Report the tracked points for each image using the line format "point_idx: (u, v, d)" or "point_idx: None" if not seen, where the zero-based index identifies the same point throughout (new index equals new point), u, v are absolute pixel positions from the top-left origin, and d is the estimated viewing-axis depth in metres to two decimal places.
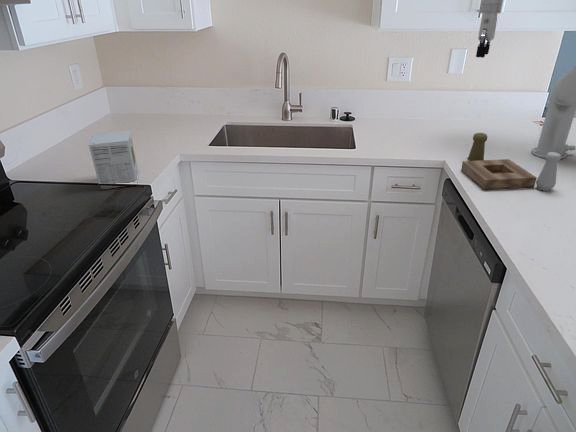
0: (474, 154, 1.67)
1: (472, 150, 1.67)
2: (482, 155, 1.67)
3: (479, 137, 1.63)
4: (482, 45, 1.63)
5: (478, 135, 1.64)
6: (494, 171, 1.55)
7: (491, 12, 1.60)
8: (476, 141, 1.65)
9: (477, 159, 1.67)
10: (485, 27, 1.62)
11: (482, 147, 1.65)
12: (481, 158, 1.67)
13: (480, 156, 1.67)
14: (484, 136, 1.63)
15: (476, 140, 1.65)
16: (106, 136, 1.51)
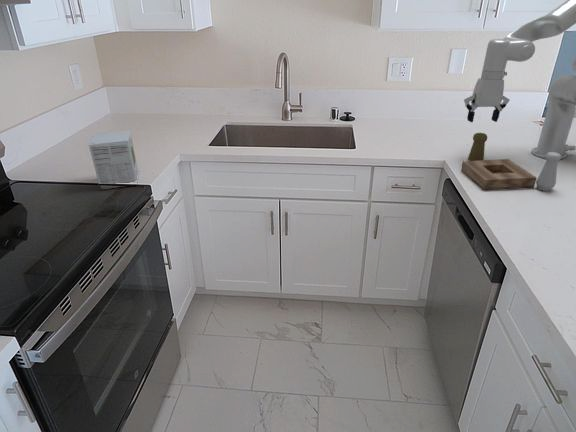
0: (474, 154, 1.67)
1: (472, 150, 1.67)
2: (482, 155, 1.67)
3: (479, 137, 1.63)
4: None
5: (478, 135, 1.64)
6: (494, 171, 1.55)
7: None
8: (476, 141, 1.65)
9: (477, 159, 1.67)
10: None
11: (482, 147, 1.65)
12: (481, 158, 1.67)
13: (480, 156, 1.67)
14: (484, 136, 1.63)
15: (476, 140, 1.65)
16: (106, 136, 1.51)
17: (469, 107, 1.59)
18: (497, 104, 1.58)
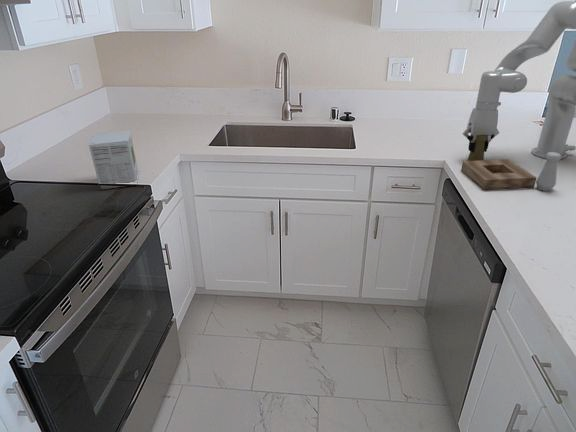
0: (474, 154, 1.67)
1: None
2: (482, 155, 1.67)
3: (479, 137, 1.63)
4: None
5: (478, 135, 1.64)
6: (494, 171, 1.55)
7: None
8: (476, 141, 1.65)
9: (477, 159, 1.67)
10: None
11: (482, 147, 1.65)
12: (481, 158, 1.67)
13: (480, 156, 1.67)
14: (484, 136, 1.63)
15: (476, 140, 1.65)
16: (106, 136, 1.51)
17: (470, 138, 1.65)
18: (492, 132, 1.63)
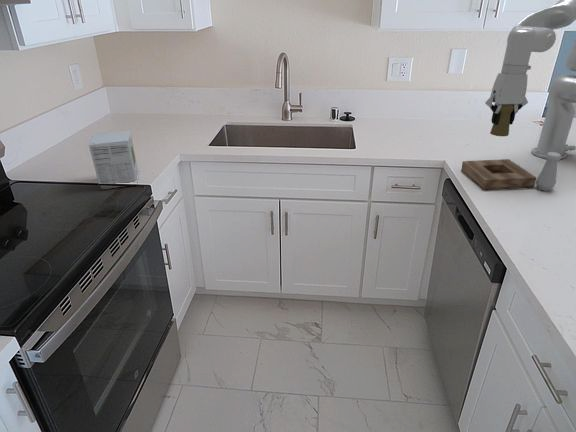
0: (498, 127, 1.46)
1: None
2: (507, 128, 1.46)
3: (504, 107, 1.42)
4: None
5: None
6: (494, 171, 1.55)
7: None
8: (501, 111, 1.44)
9: (501, 133, 1.46)
10: None
11: (507, 119, 1.44)
12: (506, 131, 1.46)
13: (505, 129, 1.45)
14: (510, 105, 1.42)
15: (501, 110, 1.43)
16: (106, 136, 1.51)
17: (494, 108, 1.44)
18: (520, 101, 1.42)
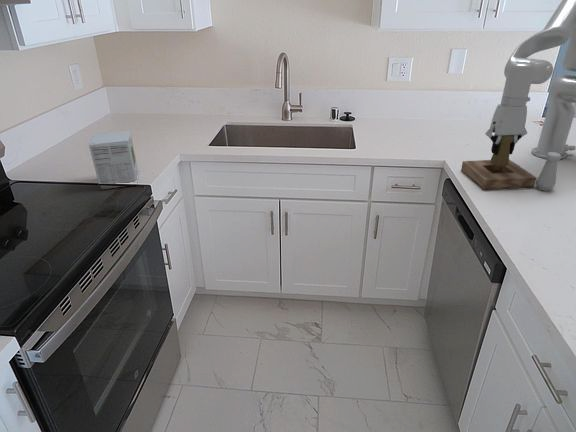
0: (498, 157, 1.46)
1: None
2: (507, 158, 1.46)
3: (504, 137, 1.43)
4: None
5: None
6: (494, 171, 1.55)
7: None
8: (501, 142, 1.44)
9: (501, 162, 1.46)
10: None
11: (507, 149, 1.45)
12: (506, 161, 1.46)
13: (505, 159, 1.46)
14: (510, 136, 1.43)
15: (501, 141, 1.44)
16: (106, 136, 1.51)
17: (494, 139, 1.44)
18: (519, 132, 1.42)
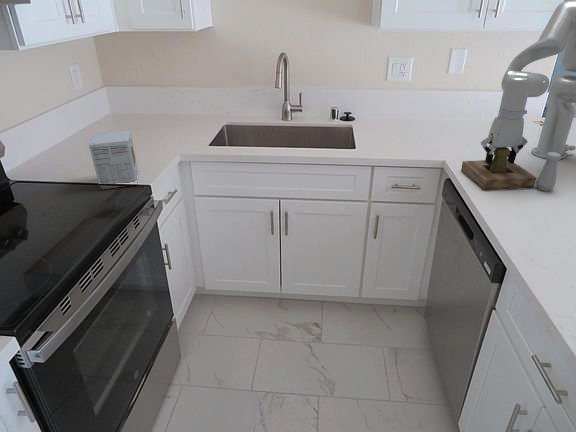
0: (495, 171, 1.49)
1: (493, 166, 1.49)
2: (504, 172, 1.49)
3: (501, 152, 1.45)
4: None
5: (500, 150, 1.46)
6: None
7: None
8: (498, 156, 1.47)
9: None
10: None
11: (504, 163, 1.47)
12: None
13: None
14: (507, 151, 1.45)
15: (498, 155, 1.46)
16: (106, 136, 1.51)
17: (487, 149, 1.46)
18: (516, 144, 1.44)
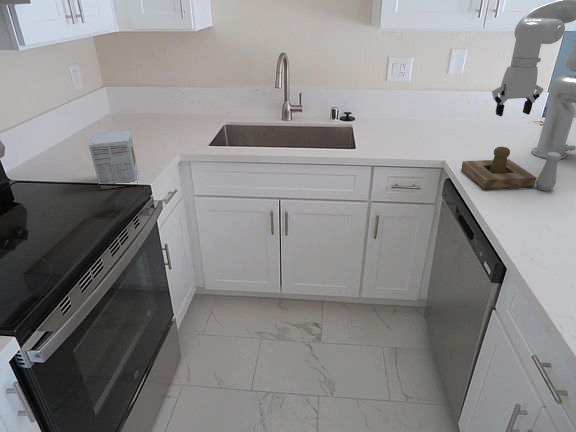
0: (495, 171, 1.49)
1: (493, 166, 1.49)
2: (504, 172, 1.49)
3: (501, 152, 1.45)
4: None
5: (500, 149, 1.46)
6: None
7: None
8: (498, 156, 1.47)
9: None
10: None
11: (504, 163, 1.47)
12: None
13: None
14: (507, 151, 1.45)
15: (498, 155, 1.46)
16: (106, 136, 1.51)
17: (498, 100, 1.41)
18: (530, 95, 1.39)
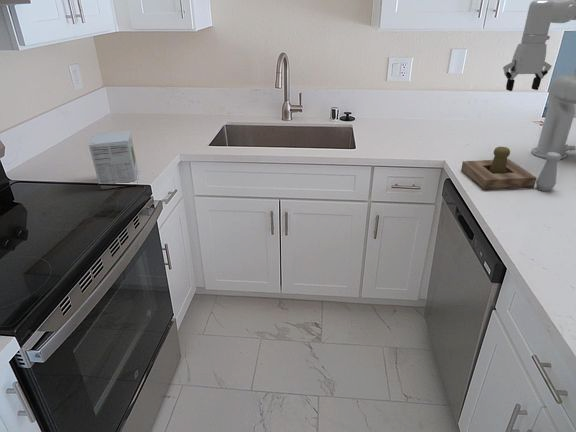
0: (495, 171, 1.49)
1: (493, 166, 1.49)
2: (504, 172, 1.49)
3: (501, 152, 1.45)
4: None
5: (500, 149, 1.46)
6: None
7: None
8: (498, 156, 1.47)
9: None
10: None
11: (504, 163, 1.47)
12: None
13: None
14: (507, 151, 1.45)
15: (498, 155, 1.46)
16: (106, 136, 1.51)
17: (509, 75, 1.50)
18: (539, 71, 1.49)
